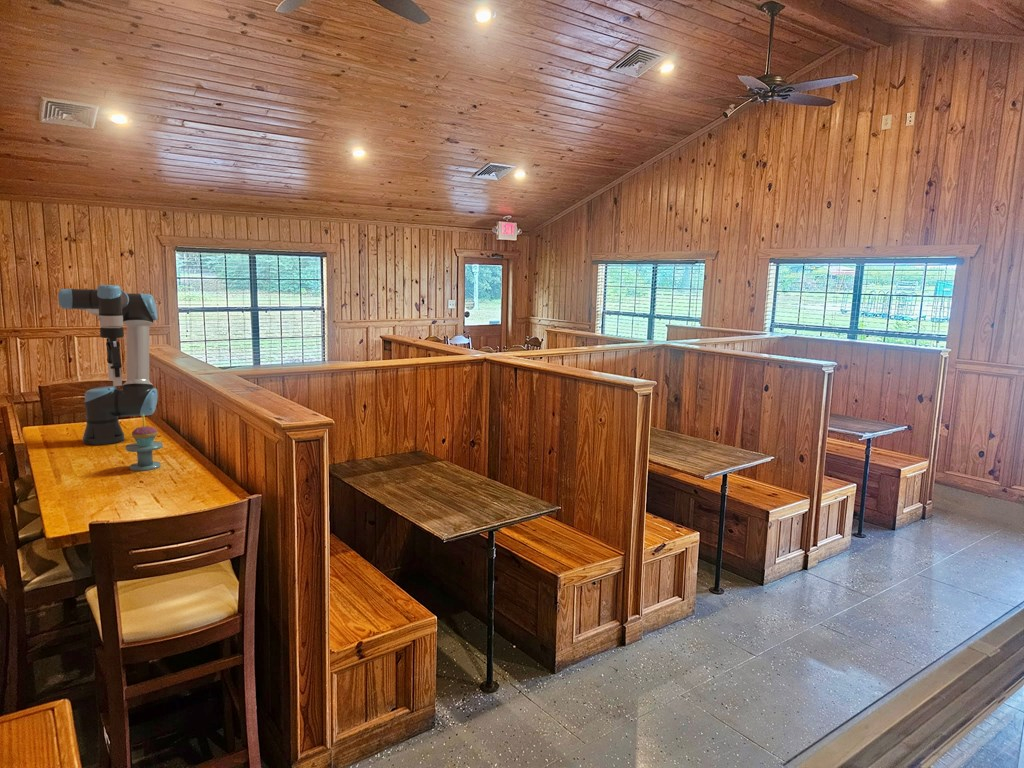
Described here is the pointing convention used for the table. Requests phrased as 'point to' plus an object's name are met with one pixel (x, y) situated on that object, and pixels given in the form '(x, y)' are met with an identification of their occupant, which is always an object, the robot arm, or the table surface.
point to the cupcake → (144, 435)
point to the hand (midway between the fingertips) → (115, 383)
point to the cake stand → (144, 456)
